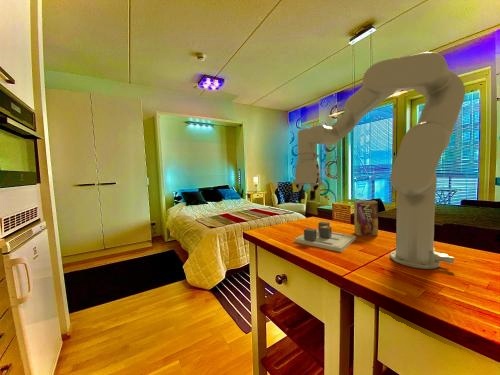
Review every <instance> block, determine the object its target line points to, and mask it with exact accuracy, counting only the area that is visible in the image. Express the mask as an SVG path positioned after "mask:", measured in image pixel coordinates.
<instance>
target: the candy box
mask: <svg viewBox="0 0 500 375" xmlns="http://www.w3.org/2000/svg"><path fill="white" fill-rule="evenodd" d="M378 203H379V202H378V201H376V200H354V201H353V211H354V212H353V215H354V220H353V222H354V225H353V226H354V234H355V236H356V235H357V236H379V206H378V205H379V204H378Z"/></svg>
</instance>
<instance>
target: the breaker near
mask: <svg viewBox="0 0 500 375" xmlns="http://www.w3.org/2000/svg"><path fill="white" fill-rule="evenodd" d="M303 234H304V239H305V240H310V241H315V240H316V239H317V237H316V230H315V228H310V227H309V228H308V227H307V228H304V229H303Z"/></svg>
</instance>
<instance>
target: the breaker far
mask: <svg viewBox="0 0 500 375" xmlns="http://www.w3.org/2000/svg"><path fill="white" fill-rule="evenodd" d="M317 225H318V226H317V230H318V231H319V227H321V226H328V227H331V224H330V222H326V221H319V222H318V224H317Z"/></svg>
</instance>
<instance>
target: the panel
mask: <svg viewBox="0 0 500 375" xmlns="http://www.w3.org/2000/svg"><path fill="white" fill-rule="evenodd" d="M314 229H315V228H314ZM315 230H316V237H317V239H316V240H315V241H310V240H305V239H304V233H303V234H301V235H299V236H297V237H296V238H294V243H299V244H302V245H306V246H311V247H316V248H321V249H324V250H330V251H333V252H339V253H342V252H343V251H344V250H346V249H347V248H348V247H349V246H350V245H351V244H352V243H354V242H355V241H356V239H357V236H356V235H354V234H353V235H352V234H345V233H340V232H333V231H332V237H330V238H324V237H319V231H318V228H317V229H315Z"/></svg>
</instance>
